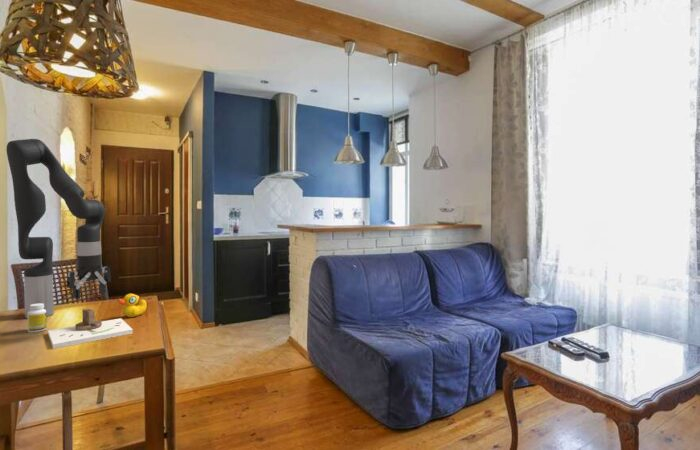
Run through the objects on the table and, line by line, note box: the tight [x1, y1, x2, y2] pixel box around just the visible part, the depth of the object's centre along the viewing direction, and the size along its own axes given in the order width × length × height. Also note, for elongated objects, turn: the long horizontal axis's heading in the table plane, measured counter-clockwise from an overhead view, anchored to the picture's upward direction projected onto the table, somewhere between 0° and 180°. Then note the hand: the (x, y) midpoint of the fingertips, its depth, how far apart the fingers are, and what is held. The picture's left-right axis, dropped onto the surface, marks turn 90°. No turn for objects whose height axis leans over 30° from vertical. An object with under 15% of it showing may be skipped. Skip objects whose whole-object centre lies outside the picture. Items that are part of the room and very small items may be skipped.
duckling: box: [117, 293, 147, 318], centre depth 157 cm, size 11×5×10 cm, turn 148°
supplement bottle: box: [27, 303, 47, 333], centre depth 138 cm, size 5×5×10 cm
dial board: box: [47, 317, 134, 350], centre depth 135 cm, size 18×23×2 cm
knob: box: [74, 308, 103, 330], centre depth 137 cm, size 12×8×6 cm, turn 57°
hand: (89, 296), depth 138 cm, fingers open, 8 cm apart
